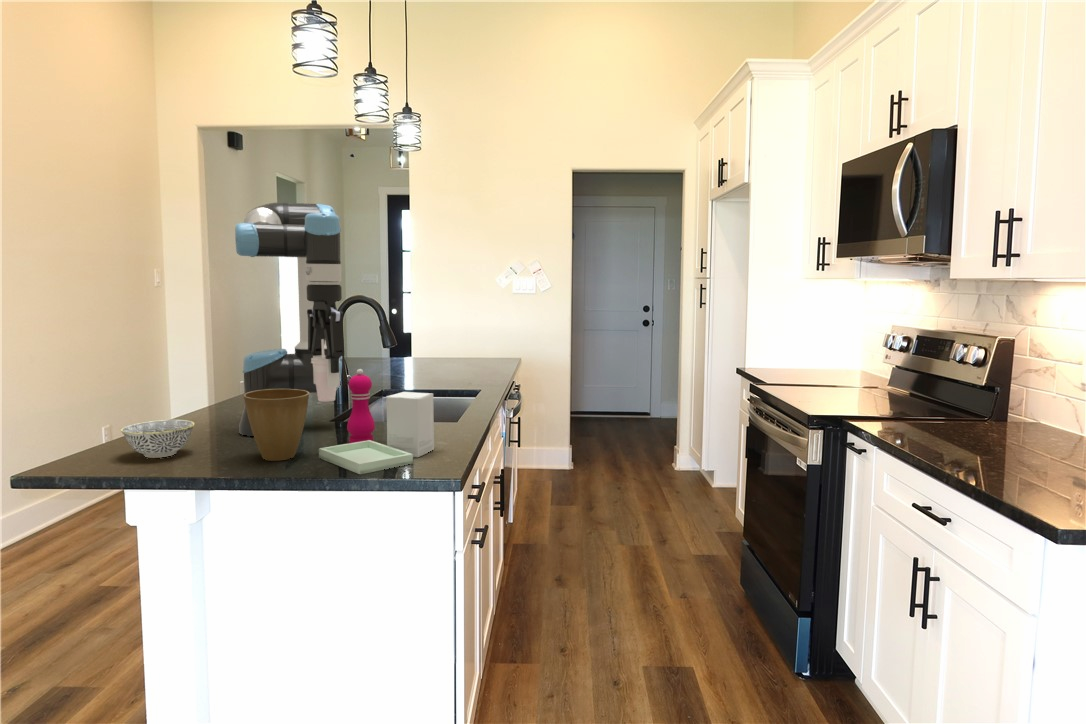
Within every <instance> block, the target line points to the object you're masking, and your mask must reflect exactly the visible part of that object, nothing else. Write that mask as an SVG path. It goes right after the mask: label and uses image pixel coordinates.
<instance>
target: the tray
mask: <svg viewBox="0 0 1086 724" xmlns="http://www.w3.org/2000/svg"><path fill="white" fill-rule="evenodd" d="M318 458H319V459H320V458H321V460H323V461H325V462H328V463H331V464H334V465H336V466H337V467H338V466H339V467H341V468H343V469H345V470H348V471H350V472H353V473H355V474H358V475H365V474H369V473H373V472H379V471H385V470H389V468H390V469H394V467H395V468H399V466H400V467H405V466H409V465H408V464H410V465H414V457H413V454H411V453H408V452H405V451H402V450H399V449H396V448H393V447H389V446H387V444H383V443H380V442H377V441H374V440H373V441H371V440H367V441H361V442H355V443H343V444H337V445H331V446H324V447H320V448H318ZM404 465H405V466H404ZM384 469H385V470H384Z"/></svg>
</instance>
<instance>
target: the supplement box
mask: <svg viewBox="0 0 1086 724" xmlns="http://www.w3.org/2000/svg"><path fill="white" fill-rule="evenodd" d="M385 403H386V437H387V438H386V446H389V447H393V448H396V449H399V450H402V451H405V452H408V453H411V454H413V458H420V457H422V456H424V455H427V454H429V453H430V451H431V452H433V451H434V450H435V423H434V415H435V413H434V412H435V410H434V393H432V392H431V393H429V392H412V391H402V392H398V393H395V394H390V395H386V396H385ZM432 450H433V451H432ZM428 452H429V453H428Z"/></svg>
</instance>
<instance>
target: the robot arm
mask: <svg viewBox="0 0 1086 724" xmlns="http://www.w3.org/2000/svg"><path fill="white" fill-rule="evenodd" d="M340 222H341V220H340V217H339V215H338V214H336V212H335V209H334V207H332V206H331V205H328V204H321V203H303V202H302V203H296V202H293V203H292V202H270V203H266V204H262V205H259V206H256V207H253V208H252V209H251V210H249V211H247V213H246V215H245V216H244V220H243V222H238V223H237V224H236V225H235V227H234V231H235V232H234V236H235V237H234V238H235V251H236V254H237V255H238V256H241V257H251V258H255V257H259V258H261V257H262V258H263V257H266V258H267V257H272V258H273V257H274V258H275V257H276V258H277V257H280V258H283V257H284V258H297V279H298V280H297V281H298V312H299V313H298V316H299V342H297V344H296V345H295V346H294V353H288V351H287V349H286V348H278V349H277V348H275V349H268V350H267V349H265V350H261V351H255V352H251V353H249V354H246V355H245V357H244V358H243V366H242V368H243V369H242V373H243V385H244V386H243V391H244V394H246V393H248V392H252V391H257V390H265V389H298V390H305V391H308V392H309V394H317V389H316V383H315V376H314V370H313V363H311V358H314V357H322V341H321V339H324V357H325V358H326V367H327V388H333V387H336V391H337V390H338V389H339V388H340V387H341V386H340V384H341V378H342V377H341V376H342V372H343V371H342V369H343V357H344V356H345V343H344V341H345V340H344V323H343V322H344V312H343V311H338V309H337V305H336V303H337V302H341V301H342V299H343V294H342V286H341V284H340V283H341V282H342V263H341V262H342V261H341V232H342V229H341V223H340ZM339 358H340V363H339ZM244 394H243V395H244ZM238 433H240V434H243V435H247V436H246V437H250V436H253V433H252V429H251V426H250V423H249V419H248V415H247V410H246V405H245V404H244V407H243V410H242V414H241V419H240V421H239V423H238ZM240 434H239V435H240ZM243 435H242V436H243Z"/></svg>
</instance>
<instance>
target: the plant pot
mask: <svg viewBox="0 0 1086 724" xmlns="http://www.w3.org/2000/svg"><path fill="white" fill-rule="evenodd" d="M309 396H310V393H309V392H308V391H305V390H298V389H265V390H257V391H252V392H248V393H246V394H243V399H244V406H245V405H246V410H247V415H248V419H249V423H250V426H251V429H252V433H253V436H254V437H253V439H254V441H255V444H256V447H257V448H258V451H259V453H260V455H261V457H262V459H263V460H264V459H265V460H264V461H269V462H273V461H274V462H277V461H286V460H290V458H291V459H292V458H294V457H295V456H296V454H297V450H298V447H299V444H300V442H301V438H302V435H303V431H304V427H305V424H306V423H305V422H306V418H307V413H308V412H307V411H308V403H309V399H310V397H309Z"/></svg>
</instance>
